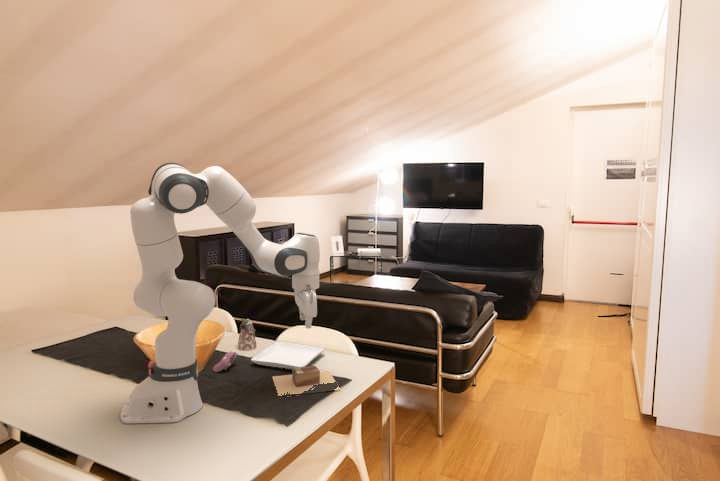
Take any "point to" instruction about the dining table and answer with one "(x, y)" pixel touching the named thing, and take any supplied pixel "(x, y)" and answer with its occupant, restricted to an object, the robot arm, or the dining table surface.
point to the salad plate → (287, 355)
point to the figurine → (247, 336)
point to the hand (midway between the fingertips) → (305, 323)
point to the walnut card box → (305, 376)
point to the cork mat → (286, 385)
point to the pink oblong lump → (225, 361)
